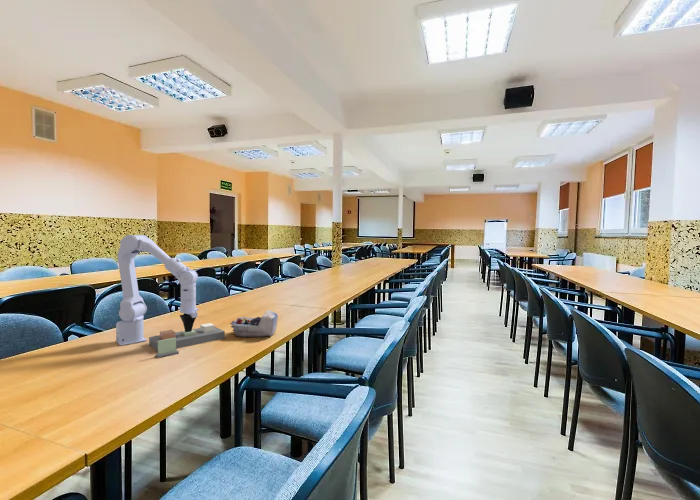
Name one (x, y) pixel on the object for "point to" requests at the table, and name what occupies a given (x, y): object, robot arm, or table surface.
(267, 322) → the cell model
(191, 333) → the sage block
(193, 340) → the button board
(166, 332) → the terracotta block
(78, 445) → the table surface
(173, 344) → the card
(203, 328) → the cream block
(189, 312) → the robot arm
